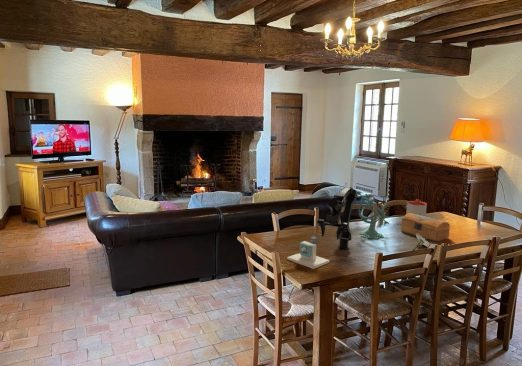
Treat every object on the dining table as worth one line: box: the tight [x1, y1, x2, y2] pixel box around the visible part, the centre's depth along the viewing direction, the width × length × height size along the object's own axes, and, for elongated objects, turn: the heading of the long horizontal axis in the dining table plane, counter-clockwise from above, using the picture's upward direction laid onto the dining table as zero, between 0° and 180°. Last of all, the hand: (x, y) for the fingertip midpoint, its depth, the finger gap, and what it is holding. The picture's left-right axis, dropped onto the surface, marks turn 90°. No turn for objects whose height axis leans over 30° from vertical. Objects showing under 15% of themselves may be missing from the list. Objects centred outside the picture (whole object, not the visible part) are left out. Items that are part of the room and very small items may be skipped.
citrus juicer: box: [405, 199, 428, 217], centre depth 330 cm, size 16×17×20 cm
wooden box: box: [400, 212, 451, 242], centre depth 295 cm, size 30×16×14 cm, turn 33°
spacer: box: [299, 241, 311, 257], centre depth 234 cm, size 2×7×7 cm, turn 44°
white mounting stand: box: [286, 240, 330, 270], centre depth 237 cm, size 15×20×11 cm
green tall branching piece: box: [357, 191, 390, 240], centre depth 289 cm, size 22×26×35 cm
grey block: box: [301, 236, 318, 256], centre depth 237 cm, size 12×3×12 cm, turn 134°
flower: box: [412, 234, 431, 251], centre depth 265 cm, size 13×6×30 cm
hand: (329, 238), depth 235 cm, fingers open, 9 cm apart
